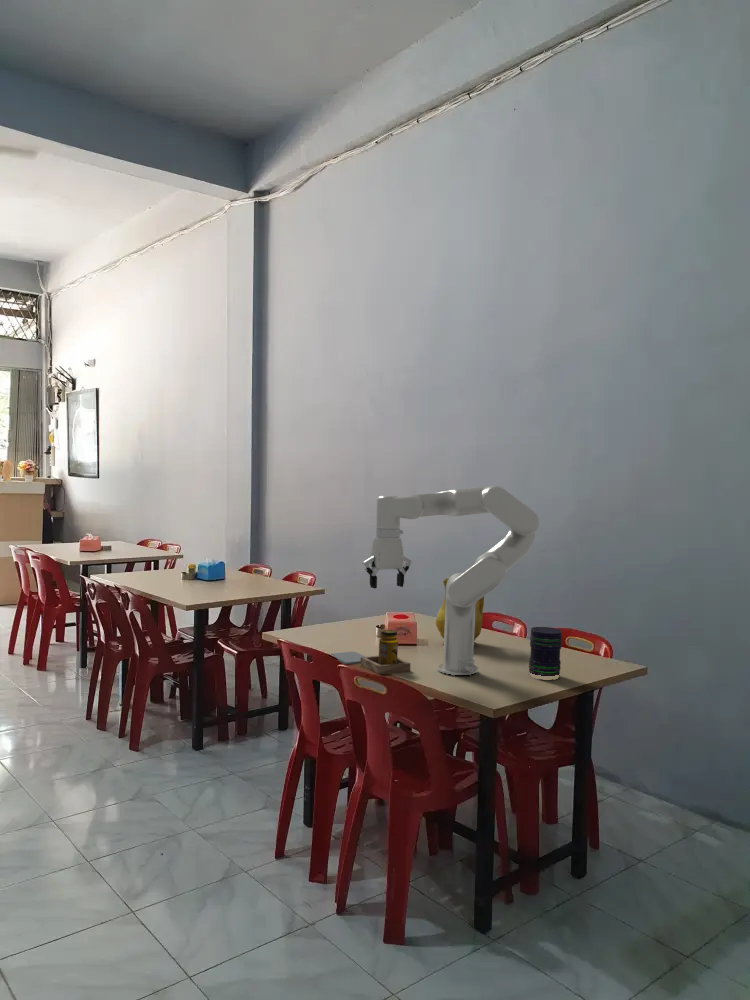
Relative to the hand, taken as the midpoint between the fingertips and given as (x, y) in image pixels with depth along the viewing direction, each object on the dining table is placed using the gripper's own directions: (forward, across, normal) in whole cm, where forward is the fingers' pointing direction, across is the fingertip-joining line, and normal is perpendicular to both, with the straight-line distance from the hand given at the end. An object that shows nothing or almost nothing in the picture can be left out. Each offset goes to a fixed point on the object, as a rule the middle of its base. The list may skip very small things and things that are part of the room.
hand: (386, 587), depth 248 cm
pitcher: (+27, -43, -22) cm, 55 cm away
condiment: (+26, 0, 0) cm, 26 cm away
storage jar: (+27, -43, +26) cm, 58 cm away
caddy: (+26, 0, 0) cm, 26 cm away
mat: (+26, +6, -14) cm, 30 cm away
